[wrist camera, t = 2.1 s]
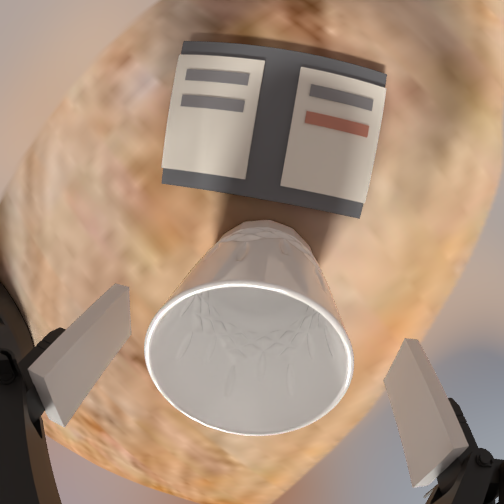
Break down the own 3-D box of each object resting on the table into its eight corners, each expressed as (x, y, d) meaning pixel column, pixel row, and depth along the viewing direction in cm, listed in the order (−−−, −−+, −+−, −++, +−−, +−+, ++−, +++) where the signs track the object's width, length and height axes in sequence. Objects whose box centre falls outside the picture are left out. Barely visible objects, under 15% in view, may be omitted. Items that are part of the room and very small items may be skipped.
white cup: (244, 336, 22) (221, 449, 12) (180, 248, 20) (106, 335, 11) (342, 288, 20) (380, 398, 10) (284, 185, 18) (289, 234, 9)
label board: (166, 181, 18) (159, 184, 17) (187, 44, 15) (181, 39, 14) (356, 215, 18) (361, 220, 17) (382, 76, 15) (389, 72, 14)
